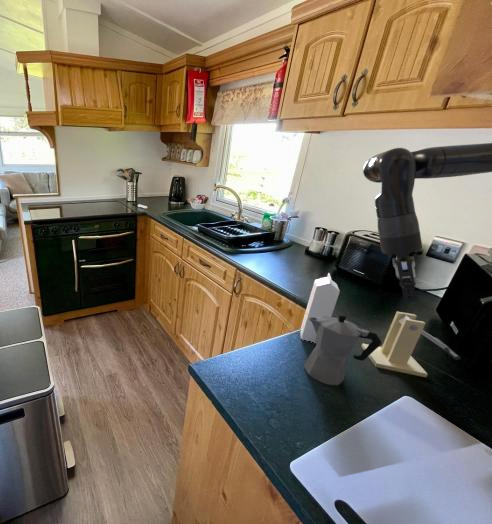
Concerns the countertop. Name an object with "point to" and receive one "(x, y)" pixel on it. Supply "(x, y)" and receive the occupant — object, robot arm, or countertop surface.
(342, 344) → the coffeepot
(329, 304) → the milk
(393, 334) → the bracket
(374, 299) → the countertop surface
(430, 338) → the lever
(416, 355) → the countertop surface
